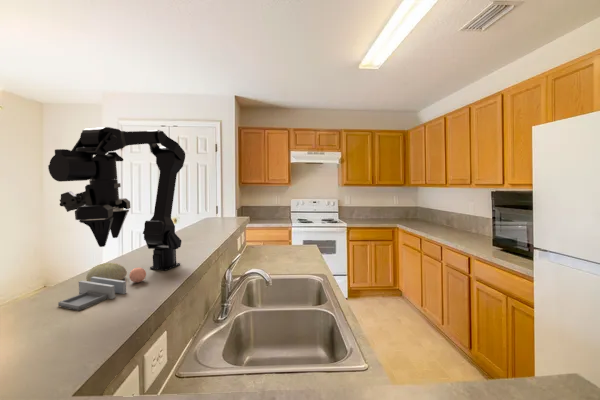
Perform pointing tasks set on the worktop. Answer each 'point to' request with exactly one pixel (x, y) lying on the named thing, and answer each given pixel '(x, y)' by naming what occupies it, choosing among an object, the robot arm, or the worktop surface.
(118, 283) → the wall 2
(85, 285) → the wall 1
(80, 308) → the coaster
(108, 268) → the sea urchin shell
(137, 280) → the ball
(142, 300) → the worktop surface
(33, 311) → the worktop surface
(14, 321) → the worktop surface
